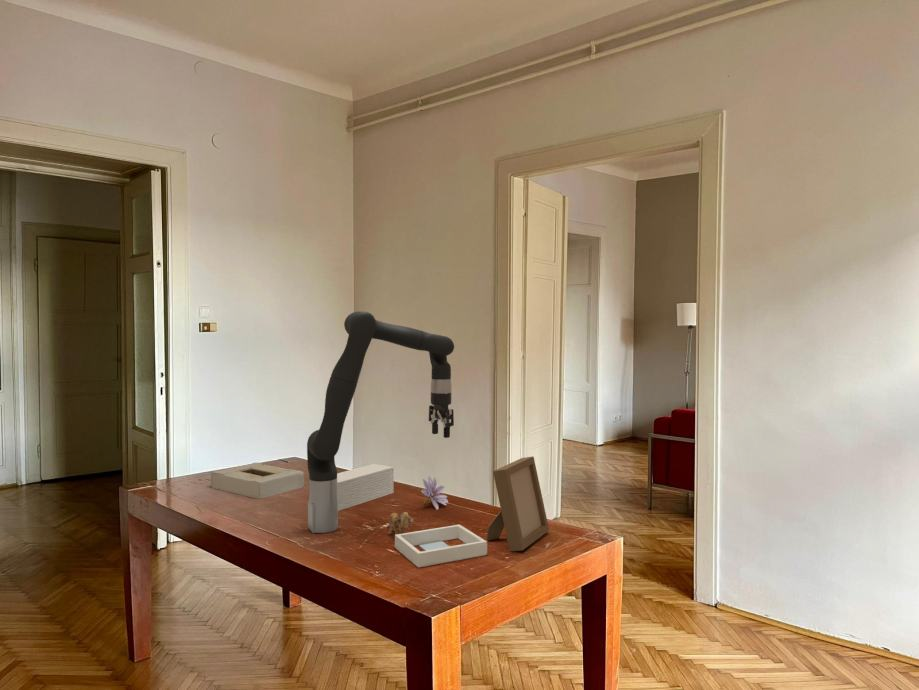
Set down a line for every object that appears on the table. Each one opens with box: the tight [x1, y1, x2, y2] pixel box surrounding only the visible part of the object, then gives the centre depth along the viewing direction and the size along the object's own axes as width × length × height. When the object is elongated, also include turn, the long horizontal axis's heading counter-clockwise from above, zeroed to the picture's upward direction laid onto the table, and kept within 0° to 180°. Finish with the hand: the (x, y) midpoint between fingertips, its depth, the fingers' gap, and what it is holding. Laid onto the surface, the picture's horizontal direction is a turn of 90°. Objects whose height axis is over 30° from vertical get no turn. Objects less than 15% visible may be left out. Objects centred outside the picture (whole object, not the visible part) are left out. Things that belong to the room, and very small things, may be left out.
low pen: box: [394, 524, 488, 568], centre depth 203 cm, size 22×18×4 cm
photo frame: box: [485, 456, 550, 552], centre depth 213 cm, size 15×22×25 cm
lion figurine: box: [386, 511, 414, 536], centre depth 218 cm, size 15×5×9 cm, turn 33°
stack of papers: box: [337, 463, 395, 512], centre depth 260 cm, size 32×11×11 cm, turn 144°
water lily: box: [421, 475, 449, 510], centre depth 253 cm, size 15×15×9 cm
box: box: [210, 462, 305, 500], centre depth 280 cm, size 23×8×32 cm
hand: (440, 435), depth 242 cm, fingers open, 8 cm apart
